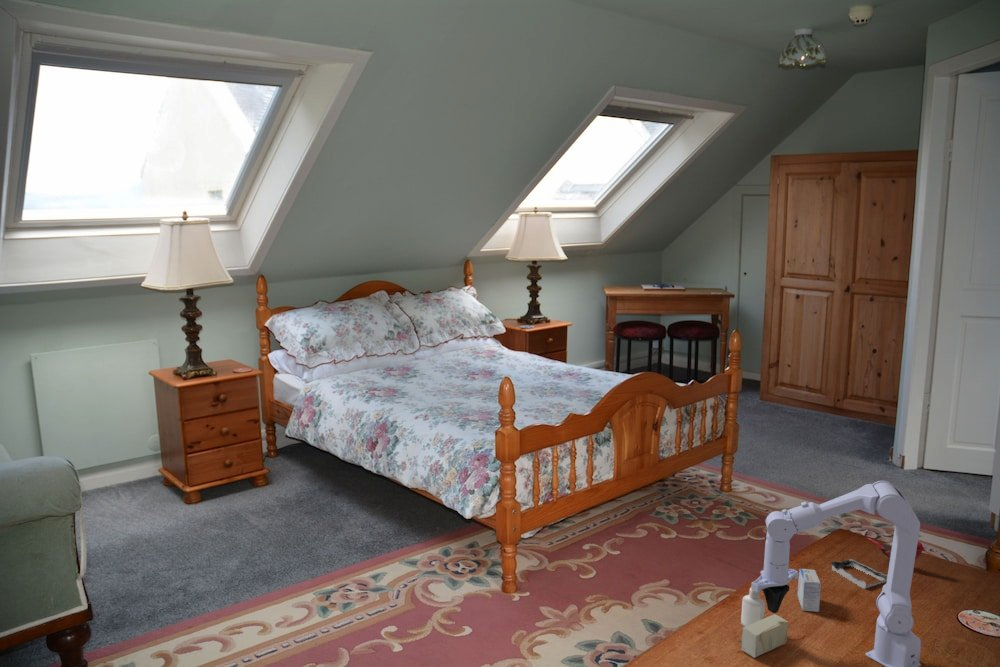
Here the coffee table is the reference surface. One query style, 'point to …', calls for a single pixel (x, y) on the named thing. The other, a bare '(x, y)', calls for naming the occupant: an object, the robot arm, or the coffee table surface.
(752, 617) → the eye dropper bottle
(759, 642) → the skincare box
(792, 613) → the coffee table surface
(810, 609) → the medicine box
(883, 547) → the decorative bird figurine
